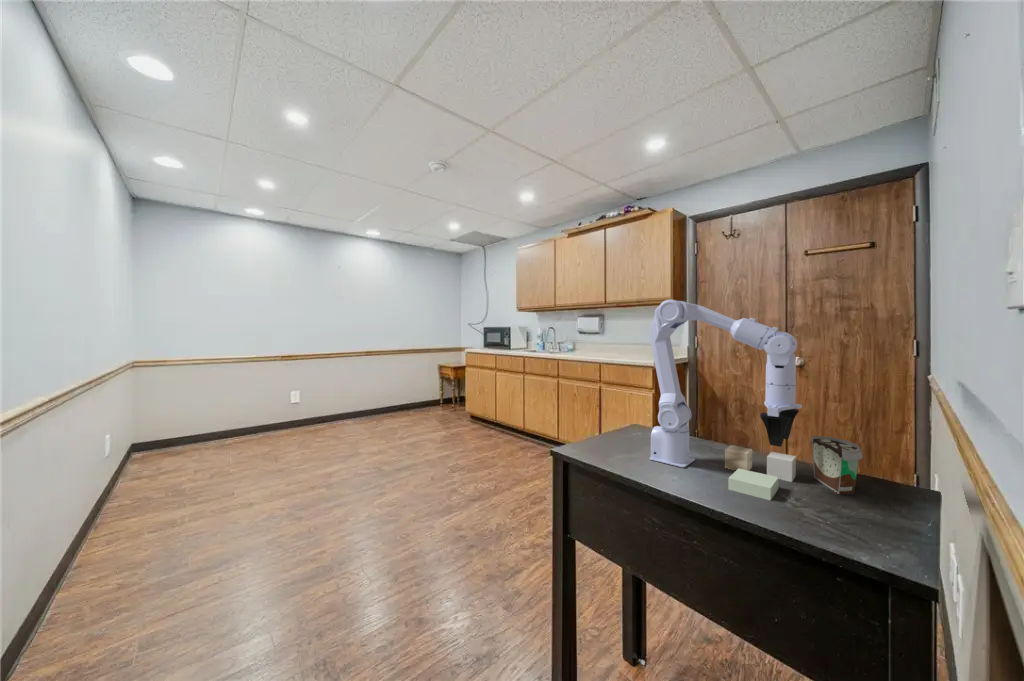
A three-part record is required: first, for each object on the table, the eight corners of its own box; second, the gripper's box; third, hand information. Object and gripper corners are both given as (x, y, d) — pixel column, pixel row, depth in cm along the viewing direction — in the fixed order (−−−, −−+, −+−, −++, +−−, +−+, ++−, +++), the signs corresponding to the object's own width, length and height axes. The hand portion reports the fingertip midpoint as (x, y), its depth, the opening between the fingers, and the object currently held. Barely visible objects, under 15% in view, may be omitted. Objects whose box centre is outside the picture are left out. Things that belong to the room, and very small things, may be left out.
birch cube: (724, 468, 98) (725, 449, 98) (730, 463, 102) (730, 445, 102) (746, 473, 95) (747, 453, 95) (752, 468, 98) (752, 449, 98)
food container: (877, 499, 80) (878, 452, 79) (843, 497, 81) (844, 451, 80) (839, 476, 92) (839, 436, 91) (810, 475, 93) (810, 434, 93)
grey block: (766, 476, 93) (766, 456, 92) (771, 471, 96) (771, 451, 96) (791, 482, 89) (792, 461, 89) (795, 476, 93) (795, 456, 92)
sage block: (728, 491, 86) (728, 478, 85) (738, 480, 91) (738, 468, 91) (770, 502, 80) (770, 488, 80) (778, 490, 86) (778, 477, 85)
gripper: (795, 389, 80) (794, 453, 80) (807, 382, 90) (806, 438, 91) (757, 386, 85) (756, 446, 85) (771, 379, 95) (771, 433, 96)
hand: (779, 441), depth 88 cm, fingers open, 7 cm apart
